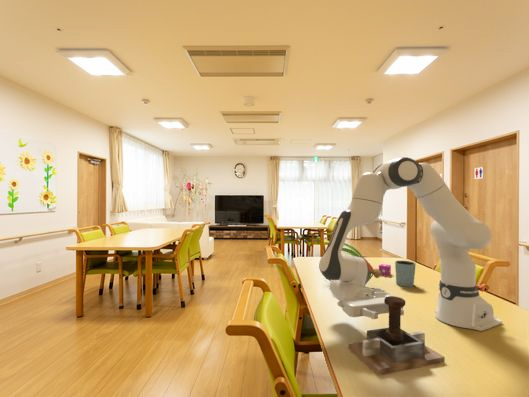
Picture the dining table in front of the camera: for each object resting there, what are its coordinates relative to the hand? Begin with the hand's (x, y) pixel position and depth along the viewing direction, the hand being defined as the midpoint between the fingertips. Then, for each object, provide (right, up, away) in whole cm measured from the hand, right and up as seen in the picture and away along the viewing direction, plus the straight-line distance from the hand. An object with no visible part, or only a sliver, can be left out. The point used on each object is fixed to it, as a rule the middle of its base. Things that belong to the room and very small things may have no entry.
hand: (389, 314), depth 88 cm
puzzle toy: (+36, -12, +91) cm, 99 cm away
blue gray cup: (+38, -12, +70) cm, 80 cm away
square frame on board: (+1, -11, -2) cm, 11 cm away
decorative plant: (+8, -11, +67) cm, 68 cm away
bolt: (+1, -10, -2) cm, 10 cm away
